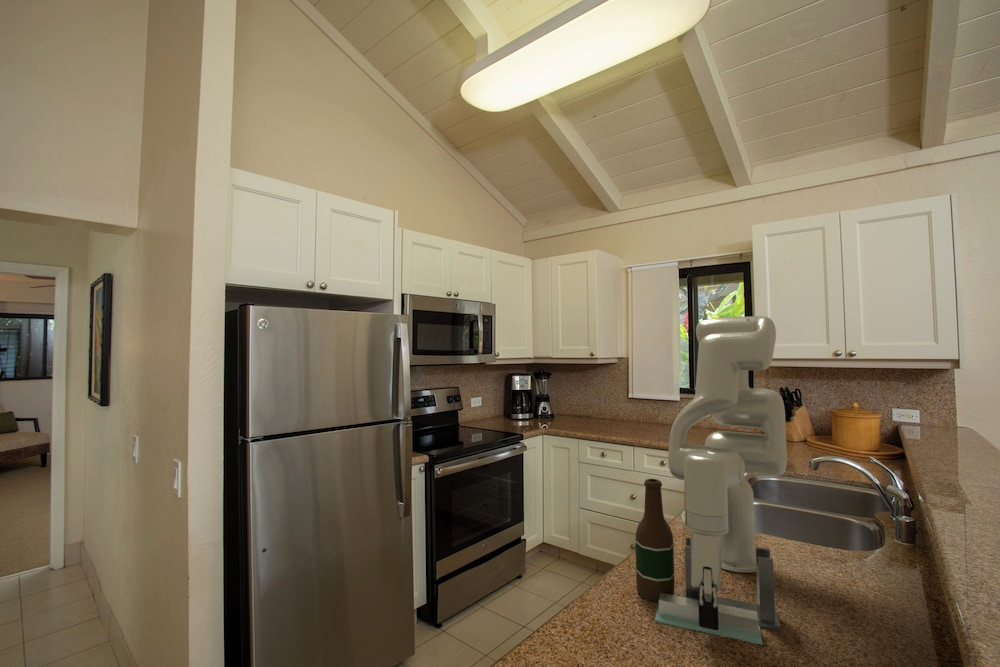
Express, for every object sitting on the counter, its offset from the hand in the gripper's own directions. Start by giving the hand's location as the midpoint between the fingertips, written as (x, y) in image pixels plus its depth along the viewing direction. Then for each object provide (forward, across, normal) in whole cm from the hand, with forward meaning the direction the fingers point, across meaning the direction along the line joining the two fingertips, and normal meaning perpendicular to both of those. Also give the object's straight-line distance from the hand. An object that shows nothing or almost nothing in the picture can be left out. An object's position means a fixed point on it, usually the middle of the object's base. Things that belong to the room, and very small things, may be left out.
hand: (708, 615), depth 86 cm
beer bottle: (+2, -9, -10) cm, 14 cm away
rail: (+2, -1, 0) cm, 2 cm away
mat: (+2, -1, 0) cm, 2 cm away
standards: (+2, -7, +4) cm, 9 cm away
